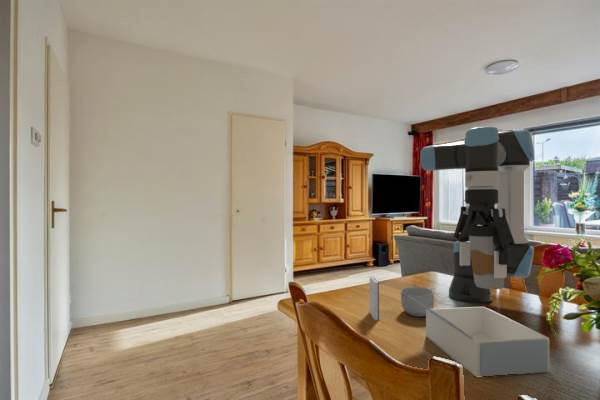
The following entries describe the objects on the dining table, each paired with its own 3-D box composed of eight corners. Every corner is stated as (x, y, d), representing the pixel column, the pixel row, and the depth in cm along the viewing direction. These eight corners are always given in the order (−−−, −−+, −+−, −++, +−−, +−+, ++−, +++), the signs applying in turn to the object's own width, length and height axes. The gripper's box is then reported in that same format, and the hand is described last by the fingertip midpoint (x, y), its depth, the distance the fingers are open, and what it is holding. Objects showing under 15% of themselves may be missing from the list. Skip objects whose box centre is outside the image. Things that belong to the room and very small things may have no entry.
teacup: (436, 320, 108) (436, 296, 108) (402, 318, 110) (402, 294, 110) (428, 306, 121) (429, 284, 121) (398, 304, 124) (398, 283, 124)
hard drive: (373, 311, 116) (373, 276, 116) (379, 320, 108) (379, 282, 108) (369, 311, 116) (369, 276, 116) (374, 320, 108) (374, 282, 107)
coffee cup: (517, 288, 80) (514, 226, 80) (489, 291, 77) (486, 227, 78) (488, 281, 88) (486, 225, 88) (462, 284, 85) (460, 226, 86)
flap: (408, 294, 93) (407, 295, 93) (448, 321, 73) (447, 322, 73) (427, 308, 94) (427, 309, 94) (473, 338, 74) (472, 339, 74)
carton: (484, 332, 98) (484, 305, 98) (554, 374, 75) (554, 339, 75) (424, 335, 96) (425, 308, 96) (478, 380, 72) (478, 343, 72)
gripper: (441, 189, 97) (441, 261, 97) (503, 187, 72) (503, 284, 72) (464, 189, 98) (464, 260, 98) (534, 187, 73) (534, 283, 73)
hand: (481, 271), depth 85 cm, fingers open, 13 cm apart
